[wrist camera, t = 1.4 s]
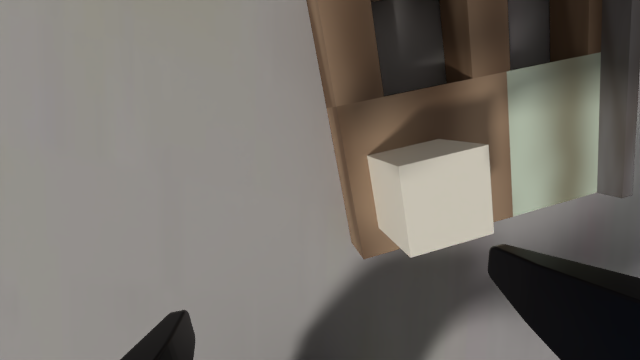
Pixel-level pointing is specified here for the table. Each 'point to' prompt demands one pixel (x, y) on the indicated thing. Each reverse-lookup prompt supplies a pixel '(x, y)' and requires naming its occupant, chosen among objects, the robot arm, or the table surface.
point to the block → (432, 194)
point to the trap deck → (489, 103)
